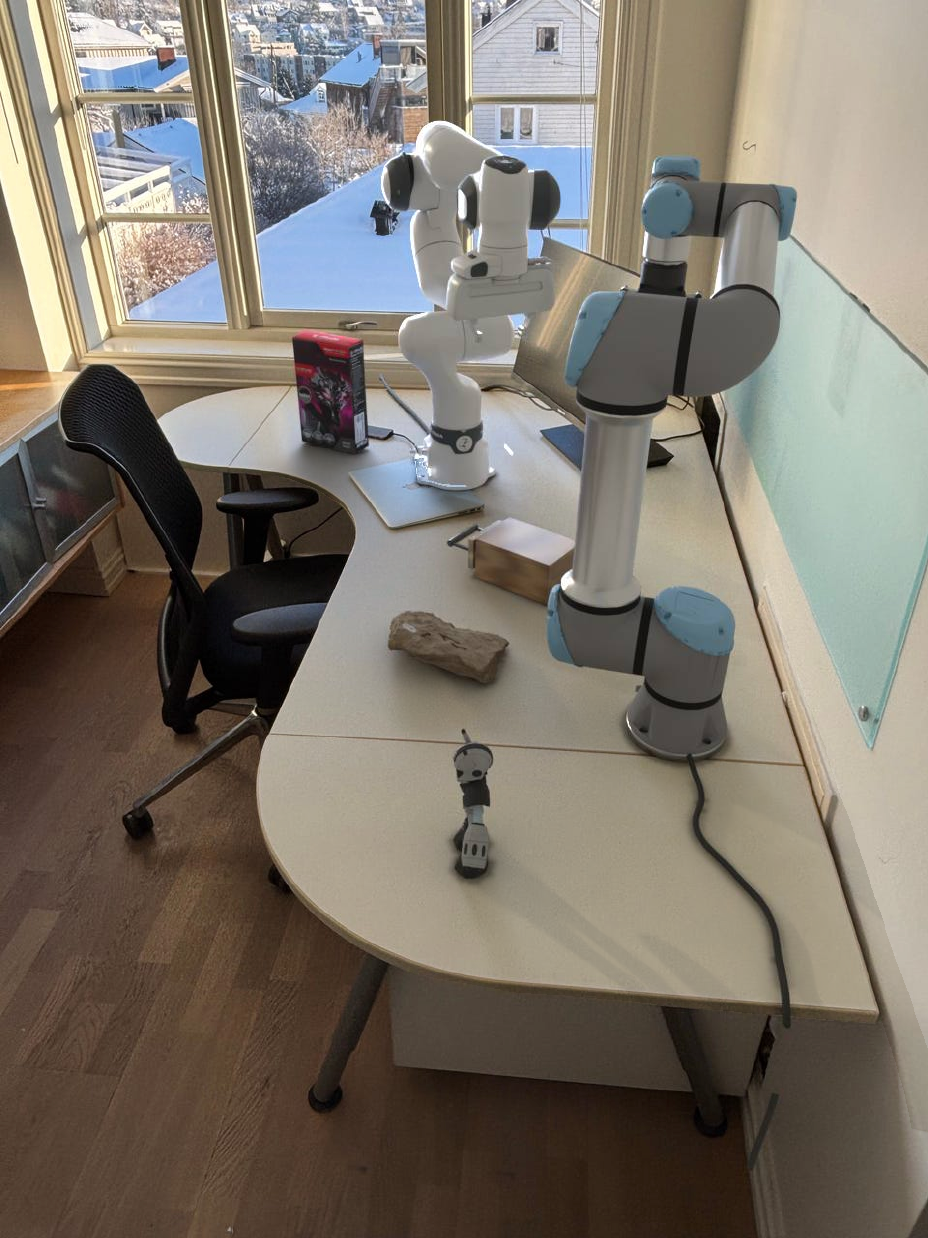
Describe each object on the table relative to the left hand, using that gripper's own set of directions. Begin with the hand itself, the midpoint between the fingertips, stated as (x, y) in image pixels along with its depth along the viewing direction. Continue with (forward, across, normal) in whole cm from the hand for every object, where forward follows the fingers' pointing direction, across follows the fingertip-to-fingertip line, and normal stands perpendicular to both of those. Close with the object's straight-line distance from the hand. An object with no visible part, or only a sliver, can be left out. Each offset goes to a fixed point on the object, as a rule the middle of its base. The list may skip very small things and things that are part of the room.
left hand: (500, 339), depth 169 cm
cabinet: (+42, 0, +16) cm, 45 cm away
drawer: (+41, +3, +11) cm, 43 cm away
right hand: (+5, -21, +19) cm, 29 cm away
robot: (+42, +38, +76) cm, 95 cm away
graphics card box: (+42, +17, -61) cm, 76 cm away
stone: (+42, +25, +34) cm, 60 cm away
